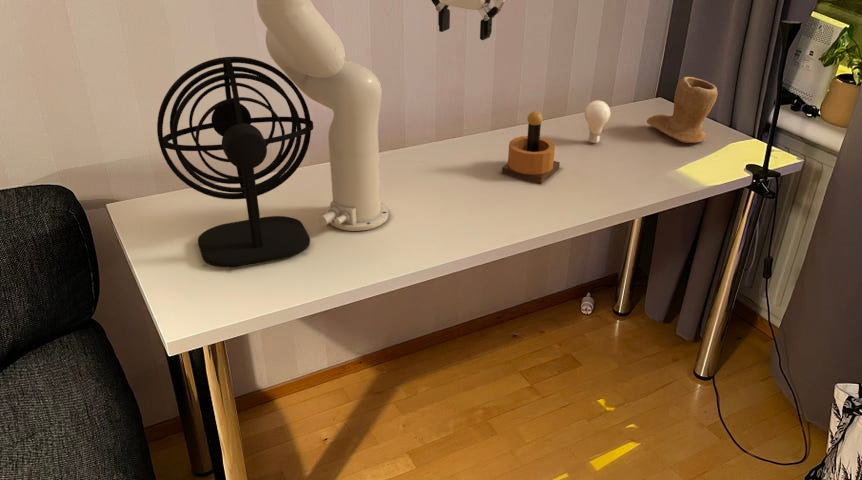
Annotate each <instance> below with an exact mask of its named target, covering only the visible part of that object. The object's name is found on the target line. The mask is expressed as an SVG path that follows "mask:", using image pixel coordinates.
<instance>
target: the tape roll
mask: <svg viewBox="0 0 862 480" xmlns="http://www.w3.org/2000/svg"><path fill="white" fill-rule="evenodd" d="M527 136H528V135H522V136H518V137H514V138H512V139H511V140H509V143H508V153H507V154H508V155H507V156H508V157H507V163H508V166H509V167H510V168H511V169H512V170H514V171H516V172H519V173H523V174H531V175H535V174H543V173H547V172H549V171H550V170H552V169H553V162H554V161H555V151H556V145H555V143H554V142H553V141H552V140H550V139H548V138H545V137H541V136H540V140H539V152H530V151H526V149H527Z"/></svg>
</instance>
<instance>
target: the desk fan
mask: <svg viewBox="0 0 862 480" xmlns="http://www.w3.org/2000/svg"><path fill="white" fill-rule="evenodd" d="M233 64H244V65H251V66H255V67H259V68H262V69H264V70H267V71H269V72H271V73H272V74H274V75H276V76H277V77H279V78H280V79H282V80H283V81H284V82H285V83H286V84H287V85H288V86H289V87H290V88H291V89H292V90H293V92H294V94H295V95H296V96H297V99H298V100H299V103H300V106H301V109H302V112H303V116H304V117H300V116H299V113H298V110H297V108H296V106H295V104H294V103H293V101H292V100H291V98H290V97H289V96H288V94H287V93H286V92H285V90H284V89H283V87H281V85H280V84H279V83H277V82H276V81H275V80H274V79H273V78H272V77H270V76H268V75H267V74H265V73H263V72H261V71H259V70H256V69H254V68H250V67H246V66H235V65H233ZM220 65H222V67H221V66H220ZM215 66H220V67H216V68H213V69H210V70H206V69H209V68H212V67H215ZM204 70H206V71H204ZM202 71H204V72H202ZM200 72H202V73H200ZM198 73H200V74H198ZM222 73H223V74H222ZM197 74H198V75H197ZM217 74H218V75H217ZM219 74H220V75H219ZM195 75H197V76H196V77H194V78H193V76H195ZM214 75H216V76H214ZM211 76H213V77H211ZM190 78H193V79H192V80H191V81H189V82H188V83H187V84H186V85H185V86H184V87H183V88H182V89H181V91H180V92H179V94H178V95H177V97H176V98H175V100H174V102H173V105H172V108H171V112H170V117H169V132H170V133H167V134H166V135H164V120H165V115H166V112H167V109H168V106H169V104H170V101H171V100H172V98H173V96H174V95H175V93H177V91H178V90H179V88H180V87H181V86H182V85H183V84H184V83H186V82H187V81H188V80H189V79H190ZM207 78H208V79H207ZM205 79H206V80H205ZM237 79H245V80H250V81H256V82H259V83H261V84H264V85H266V86H268V87H270V88H271V89H273V90H275V91H276V92H277V93H278V94H279V95H281V97H283V99H284V100H285V102H286V104H287V106H288V109H289V112H290V116H278V114H277V113H276V111H275V110H274V109H273V106H272V105H271V103H270V101H269V100H268V98H267V97H266V96H265V95H264V94H263V93H262V92H261V91H259V90H258V89H257V88H255V87H253V86H251V85H249V84H245V83H242V82H237ZM203 80H204V81H203ZM221 81H224V82H222V83H218V82H221ZM200 82H201V83H200ZM198 83H199V84H198ZM215 83H218V84H215ZM197 84H198V85H197ZM213 84H214V85H213ZM211 85H212V86H211ZM208 86H211V87H209V88H207V89H206V90H204V91H203V92H202V93H201V94H200V95H199V96H198V97H197V98H196V99H195V101H194V103H193V104H192V106H191V109H190V111H189V117H188V126H189V127H186V128H181V129H178V127H179V122H180V119H181V117H182V113H183V111H184V110H185V108H186V107H187V105H188V103H189V102H190V101H191V100H192V99H193V97H195V96H196V95H197V94H198V93H199V92H201V90H203V89H205V88H206V87H208ZM238 87H241V88H245V89H247V90H250V91H252V92H254V93H256V94H257V95H258V96H260V97H261V98H262V99H263V100H264V101H265V102H263V101H261V100H258V99H256V98H251V97H245V96H239V91H238V90H239V89H238ZM221 88H224V92H225V99H223V100H220V101H219V102H217V103H215V104H213V105H212V106H211V107H210V108H208V109H207V110H206V111H205V112H204V114H203V115H202V116H201V118H200V119H199V121H198V124H197V125H194V126H193V118H194V115H195V111H196V109H197V106H198V105H199V103H200V102H201V101H202V99H204V97H205V96H207V95H208V94H209V93H211V92H213V91H216V90H217V89H221ZM241 102H250V103H254V104H257V105H259V106H261V107H263V108H265V109H267V111H269V112H270V114H271V116H260V117H259V116H258V117H252V115H251V113H250V111H249V109H248V108H247V106H245V105H244V104H242V103H241ZM211 113H212V114H211ZM210 114H211V122H208V123H204V122H205V121H206V119H207V118H208V116H209V115H210ZM257 123H271V128H270V132H269V135H268V137H267V138H264V136H263V134H262V132H261V131H260V129H258V128H257V127H256V126H255V125H253V124H257ZM276 123H278V125H279V127H280V130H281V131H280V133H281V135H278V136H274V133H275V130H276ZM283 123H291V132H290V133H286V132H285V128H284V125H283ZM302 125H304V126H305V127H304V128H302ZM209 129H213V130H214V131H215V132H216V134H218V135H219V136H221V144H204V145H201V144H200V132H201V131H204V130H209ZM313 130H314V121H313V120H312V119H311V115H310V111H309V107H308V105H307V103H306V100H305V98H304V96H303V94H302V93H301V90H300V89H299V88H298V87H297V85H296V84H295V83H294V82H293V81H292V80H291V79H290V78H289V77H288V76H287V75H286V74H285V73H284V72H282V71H281V70H280V69H278V68H276V67H275V66H273V65H271V64H269V63H267V62H264V61H262V60H259V59H255V58H251V57H245V56H222V57H217V58H213V59H210V60H205V61H204V62H201V63H198V64H196V65H195V66H193V67H191V68H190V69H188V70H187V71H186V72H184V73H183V74H181V76H180V77H178V78H177V79H176V80H175V81H174V82H173V84H172V85H171V86H170V88H169V89H168V90H167V92H166V93H165V96H164V97H163V99H162V102H161V104H160V107H159V111H158V115H157V121H156V134H157V140H158V144H159V145H158V146H159V147H160V151H161V154H162V156H163V157H164V160H165V162H166V164H167V165H168V167H169V169H170V170H171V171H172V172H173V174H174V175H175V176H176V177H177V178H178V179H179V180H180V181H182V182H183V183H184V185H187V186H188V187H190V188H191V189H193V190H195V191H197V192H199V193H201V194H203V195H206V196H209V197H213V198H217V199H223V200H245V203H246V210H247V211H246V212H247V218H248V219H245V220H239V221H232V222H227V223H222V224H219V225H216V226H213V227H211V228H208V229H206V230H204V231H202V233H200V235H199V236H198V238H197V243H198V248H199V250H200V254H201V257H202V260H203V262H205V263H206V264H207V265H210V266H213V267H216V268H225V269H226V268H227V269H229V268H230V269H231V268H232V269H233V268H240V267H241V268H242V267H247V266H253V265H258V264H263V263H269V262H274V261H279V260H284V259H288V258H291V257H295V256H297V255H299V254H301V253H303V252H304V251H305V250H307V249H308V248H309V246H310V244H311V237H310V235H309V233H308V231H307V230H306V228H305V225H304V224H303V223H302V221H301V220H299V219H297V218H295V217H291V216H284V215H272V216H262V217H261V214H260V209H259V207H260V206H259V200H258V196H261V195H262V196H263V195H264V194H267V193H269V192H271V191H272V190H274V189H277V188H278V187H279V186H281V185H282V184H283V183H285V182H286V181H287V180H289V179H290V177H292V176H293V174H295V172H296V171H297V169H299V167H300V166H301V164H302V163H303V160H304V158H305V157H306V154H307V151H308V149H309V145H310V142H311V135H312V131H313ZM187 134H190V135H191V137H192V140H193V142H194V143H195V144H194V145H191V144H190V145H189V144H179V143H178V137H181V136H184V135H187ZM302 136H304V138H303V141H302ZM170 141H172V142H170ZM286 141H288V143H287V145H286ZM279 142H281V143H280V147H279V150H278V153H277V155H276V157H275V158H274V159H273V160H272V161H271V163H270V164H269V165H267V166H266V167H264V168H263V169H262V170H260V171H258V172H256V173H255V168H257V167H259V166H260V165H261V164H262V163H263V162H264V161H265V159H266V158H267V153H268V145H270V144H274V143H275V144H276V143H279ZM301 142H302V145H301ZM285 145H286V147H285ZM293 146H294V147H293ZM300 147H301V148H300ZM292 148H293V149H292ZM167 149H168V150H172V151H174V152H175V154H176V156H177V158H178V160H179V162H180V164H181V166H182V167H183V168H184V169H185V171H186V172H187V173H188V174H189V175H191V177H192V178H194V179H195V180H196V181H197V182H198V183H200V184H201V185H204V186H206V187H208V188H206V187H204V186H201V185H200V184H198V183H196V182H194V181H192V180H191V179H190V178H188V177H187V176H186V175H185V174H184V173H182V172H181V171H180V169H178V167H177V166H176V165H175V164H174V162H173V160H172V159H171V157H170V155H169V153H168V151H167ZM291 150H292V152H291ZM299 150H300V151H299ZM212 151H223V153H224V155H225V158H224V157H220V156H217V155H215V154H212V153H211V152H212ZM183 152H197V154H198V156H199V158H200V160H201V161H202V163H203V164H204V165H205V166H206V168H208V169H209V170H210V172H212V173H214V174H216V175H217V176H215V175H211V174H209V173H207V172H205V171H203V170H201V169H199V168H198V167H196V166H195V165H194V164H193V163H192V162H191V161H189V160H188V159H187V157H186V155H184V154H183ZM202 152H203V153H204V154H205V155H206V156H208V157H210V158H211V159H213V160H216V161H219V162H224V163H230V164H231V165H233V166H234V167H236V173H237V176H236V175H230V174H226V173H223V172H221V171H219V170H217V169H215V168H214V167H213V166H212V165H211V164H210V163H209V162H208V161H207V160H206V159H205V157H204V156H203V154H202ZM290 152H291V154H290ZM289 154H290V156H289V158H288V160H287V161H286V162H285V160H286V158H287V157H288V155H289ZM283 162H285V164H284V165H283V166H282V167H281V168H280V169H279V170H278V171H277V172H276V173H275V174H273V175H271V176H270V177H269V178H267V179H265V180H263V181H261V182H257V183H256V181H257V180H260V179H262V178H264V177H266V176H268V175H269V174H271V173H272V172H274V171H275V170H276V169H278V167H279V166H280V165H282V163H283ZM218 176H220V177H218ZM211 181H212V182H211ZM214 182H215V183H214ZM216 183H218V184H216ZM220 184H224V185H225V184H227V185H239V187H237V186H236V187H233V186H232V187H231V186H224V185H220ZM212 189H213V190H212Z"/></svg>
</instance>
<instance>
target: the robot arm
mask: <svg viewBox="0 0 862 480" xmlns="http://www.w3.org/2000/svg"><path fill="white" fill-rule="evenodd" d="M430 1H431V2H432V4H433V5H434V7H435V11H436V12H438V13H437V15H438V16H437V17H438V18H437V20H438V21H437V23H438V24H437V25H438V31H439V33H443V32H445V31H447V30H450V27H451V10H450V9H448V8H449V7H455V8H459V9H460V8H461V9H466V10H471V11H478V12H479V14H480V15H481V17H482V19H480V22H479V23H480V25H479V39H480V41H485V40H488V39H489V38H490V37H491V35H492V29H493V18H495V16H496V15H498V14H499V12H501V9H502V7H503V6H504V4H505V2H506V0H493V1H494V4H493V6H492V7H491V2H492V0H430ZM256 9H257V13H258V16H259V18H260V21H261V22H262V23H263V25H264V26H265V27H266V32H265V46H266V49H267V52H268V54H269V56H270V57H271V59H272V60H273V62H274V63H275V64H276V66H277V67H278V68H280V70H282V71H283V74H285V75H286V76H287V77H288V78H289V79H290V80H291V81H292V82H293V83H294V85H295V86H296V87H297V88H298V90H299V91H300V92H302V93H303V94H304V95H306V96H307V97H308V98H309V99H311V100H312V101H314V102H316V103H318V104H320V105H322V106H324V107H327V108H328V109H330V110H331V111H333V117H332V120H331V123H330V126H329V129H328V139H327V140H328V148H329V151H328V152H329V165H330V166H329V167H330V177H331V178H330V181H331V195H332V201H330V203H329V204H330V205H329V206H328V208H327V209H326V211H325V213H324V214H322V215H320V216H319V217H318V221H319V223H320V224H321V225H322V226H327V225H328V224H329V225H331V226H332V227H334V228H336V229H339V230H344V231H350V232H353V231H354V232H356V231H357V232H361V231H368V230H372V229H375V228H378V227H380V226H382V225H383V224H384V223H385V222H387V220H388V218H389V208H388V207H387V206H386V205H385V204H384V203H383V202H381V181H380V180H381V179H380V149H379V147H380V145H379V118H380V112H381V105H382V99H383V89H382V85H381V84H382V83H381V82H380V80H379V79H378V77H377V76H376V75H375V74H374V73H373V72H372V71H371V70H370V69H368V68H367V67H364V66H363V65H361V64H358V63H356V62H353V61H351V60H348V59H346V50H345V46H344V44H343V42H342V40H341V38H340V37H339V35H338V34H337V33H336V31H334V29H333V28H332V27H331V26H330V25H329V23H328V22H327V21H326V20H325V18H324V17H323V16H322V14H321V13H320V12H319V11H318V10H317V9H316V7H315V6H314V4H313V2H312V1H311V0H256Z"/></svg>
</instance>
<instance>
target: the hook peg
mask: <svg viewBox="0 0 862 480" xmlns="http://www.w3.org/2000/svg"><path fill="white" fill-rule="evenodd" d="M543 121H544V119H543V115H542V113H541V112H539V111H537V110H533V111H530V112H529V114H528V115H527V123H528V125H527V135H526V136H527V149H526V151H530V152H539V140H540V137H541V128H542V127H541V126H542V123H543Z"/></svg>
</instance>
